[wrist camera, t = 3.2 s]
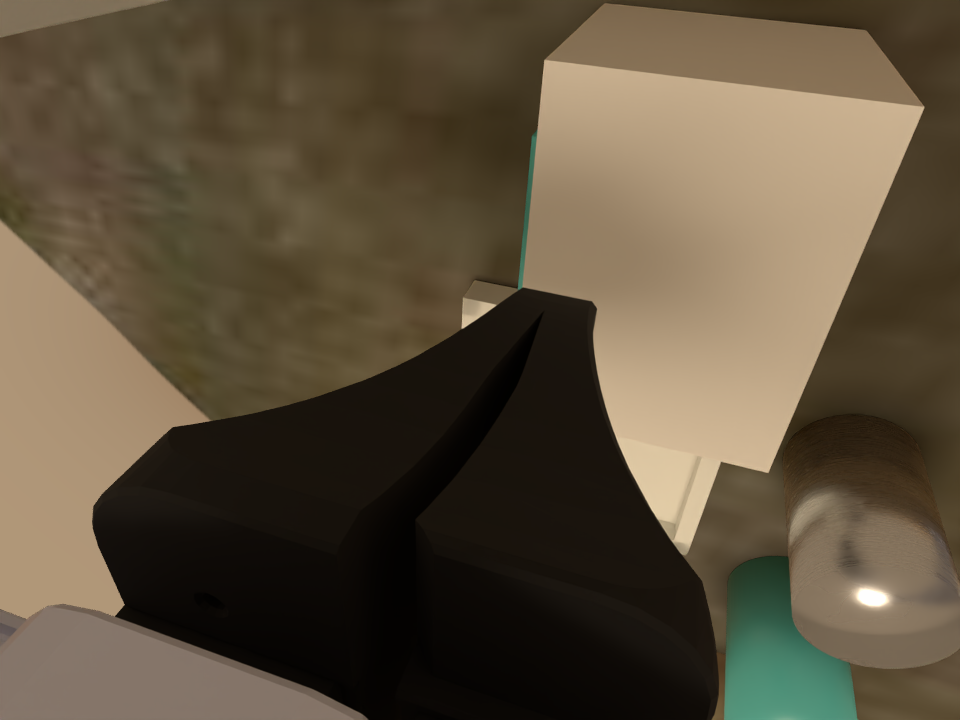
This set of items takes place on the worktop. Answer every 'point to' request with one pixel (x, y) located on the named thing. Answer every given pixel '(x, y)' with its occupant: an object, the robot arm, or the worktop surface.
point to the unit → (709, 210)
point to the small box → (56, 12)
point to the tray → (637, 452)
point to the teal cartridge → (777, 654)
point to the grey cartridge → (868, 546)
